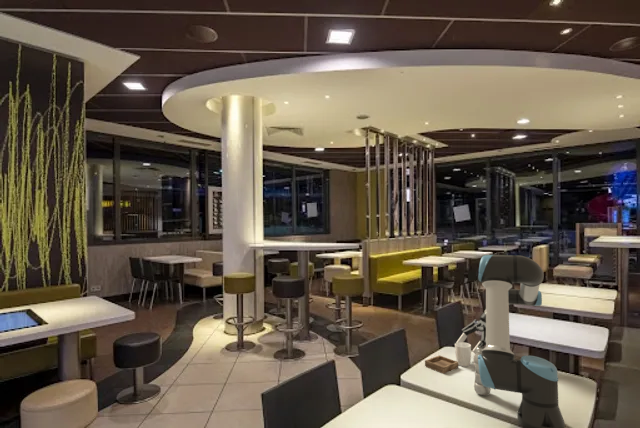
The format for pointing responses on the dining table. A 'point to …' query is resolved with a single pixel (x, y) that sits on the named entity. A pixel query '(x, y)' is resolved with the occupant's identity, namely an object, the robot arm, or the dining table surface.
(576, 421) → the dining table surface
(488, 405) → the dining table surface
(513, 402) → the dining table surface
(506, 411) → the dining table surface
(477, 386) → the plastic bottle
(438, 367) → the brown wooden tray
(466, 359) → the white cup
